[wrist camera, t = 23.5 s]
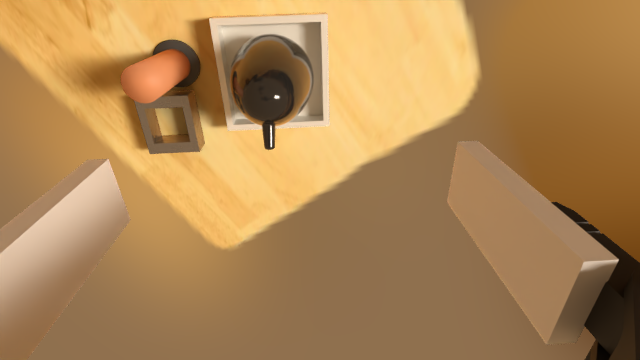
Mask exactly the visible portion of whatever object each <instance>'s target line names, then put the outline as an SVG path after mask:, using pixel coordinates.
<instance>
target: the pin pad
mask: <svg viewBox="0 0 640 360" xmlns="http://www.w3.org/2000/svg"><path fill="white" fill-rule="evenodd" d="M168 49H177V50H179V51H181V52H183V53H184V54H185V55H186V56H187V58H188V59H189V61H190V65H191V70H190V73H189V75H188V76H187V77H186V78H185V79H183V80H182V81H181V82H179V83H178V84H177V85H175V86H174V87H186V86H189V85H191V84H192V83H193V82H194V81H195V80H196V79H197V78H198V75H199V72H200V62H199V59H198V57H197V55H196V53H195V52H194V50H193V49H192V48H191V47H190V46H188V45H187V44H185V43H184V42H181V41H178V40H167V41H164V42H162V43H160V44H159V45H158V46H157V47H156V48H155V50H154V52H153V56H154V55H156V54H158V53H161V52H163V51H165V50H168Z"/></svg>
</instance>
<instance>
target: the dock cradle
mask: <svg viewBox="0 0 640 360" xmlns="http://www.w3.org/2000/svg"><path fill="white" fill-rule="evenodd" d="M209 22H210V28H211V34H212V40H213V46H214V52H215V57H216V63H217V69H218V75H219V81H220V87H221V93H222V99H223V105H224V110H225V116H226V122H227V128H228V131H234V130H256V129H262V126H261V125H257V124H255V123H253V122H251V121H249V120H248V119H247V118H245V117H244V116H243V115H242V114H241V112H240V111H239V110H238V108H237V106H236V105H235V103H234V100H233V98H232V95H231V91H230V84H229V75H230V68H231V64H232V61H233V58H234V56H235V54H236V53H237V51H238V50H239V49H240V47H241V46H242V45H243V44H244V43H246V42H247V41H248V40H250V39H252V38H254V37H256V36H259V35H263V34H277V35H282V36H285V37H287V38H289V39H291V40H293V41H294V42H296V43H297V44H298V45H299V46H300V47H301V48H302V49H303V50H304V51H305V53H306V54H307V56H308V57H309V59H310V62H311V64H312V68H313V73H314V84H313V90H312V93H311V96H310V98H309V101H308V102H307V104H306V106H305V107H304V109H303V110H302V111H301V112H300V114H299V115H298V116H296V117H295V118H294V119H293V120H291V121H289V122H287V123H285V124H283V125H280V126H275V129H277V128H298V127H320V126H330V125H329V68H328V14H327V13H302V14H274V15H247V16H219V17H212V18H209Z"/></svg>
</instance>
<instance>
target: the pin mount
mask: <svg viewBox="0 0 640 360" xmlns="http://www.w3.org/2000/svg"><path fill="white" fill-rule="evenodd" d="M134 102H135V105H136V109H137V112H138V116H139V119H140V122H141V126H142V129H143V132H144V136H145V139H146V143H147V146H148V149H149V153H150V154H159V153H179V152H200V150H201V149H202V147H203V146H204V144H205V141H204V136H203V132H202V127H201V122H200V117H199V112H198V108H197V103H196V98H195V93H194V90H176V91H167V92H166V93H165V94H163V95H162V96H161V97H159V98H158V99H156V100H155V101H153V102H151V103H139V102H137V101H135V100H134ZM173 107H183V112H184V116H185V120H186V125H187V129H188V133H189V135H169V136H162V135H161V131H160V127H159V124H158V120H157V116H156V113H155V109H154V108H173Z"/></svg>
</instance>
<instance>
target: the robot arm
mask: <svg viewBox="0 0 640 360" xmlns="http://www.w3.org/2000/svg"><path fill="white" fill-rule="evenodd" d="M447 203H448V205H449V206H450V208H451V209H452V210H453V212H454V213H455V215H456V216H457V218H458V219H459V220H460V222H461V223H462V225H463V226H464V228H465V229H466V230H467V232H468V233H469V235H470V236H471V238H472V239H473V240H474V242H475V243H476V245H477V246H478V248H479V249H480V250H481V252H482V253H483V255H484V256H485V258H486V259H487V260H488V262H489V263H490V265H491V266H492V268H493V269H494V270H495V272H496V273H497V275H498V276H499V278H500V279H501V280H502V282H503V283H504V285H505V286H506V287H507V289H508V291H509V292H510V293H511V295H512V296H513V298H514V299H515V301H516V302H517V303H518V305H519V306H520V308H521V309H522V310H523V312H524V313H525V315H526V316H527V317H528V319H529V320H530V322H531V323H532V325H533V326H534V328H535V329H536V331H537V332H538V333H539V335H540V336H541V338H542V339H543V341H544V342H545V343H546V345H552V344H567V343H576V342H577V340H578V338H579V336H580V335H581V333H582V331H583V329H584V327H586V328H587V329H588V330H589V331H590V333H591V334H592V335H593V336H594V337H595V339H596V340H595V342H594V344H593V346H592V347H591V349H590V351H589V353H588V355H587V356H586V358H585V360H640V263H639V262H638V261H637V260H635V259H634V258H633V257H631V256H630V255H629V254H628V253H627V252H625V251H624V250H623V249H621V248H620V247H619V246H618V245H617V244H615V243H614V242H613V241H612V240H610V239H609V238H608V237H607V236H605V235H604V234H600V231H599V230H598V229H597V228H595V227H594V226H593V225H591V224H588V221H587V220H585V219H584V218H583V217H581V216H580V215H579V214H578V213H576V212H575V211H574V210H571V209H569V208H567V207H565V206H563V205H561V204H559V203H557V202H550V201H549V200H547V199H546V198H545V197H543V195H541V194H540V193H539V192H538V191H537V190H536V189H534V188H533V187H532V186H530V184H528V183H527V182H526V181H525V180H523V179H522V178H521V177H520V176H519V175H518V174H516V173H515V172H514V171H513V170H512V169H510V168H509V167H508V166H507V165H506V164H505V163H503V162H502V161H501V160H499V158H497V157H496V156H495V155H494V154H493V153H491V152H490V151H489V150H488V149H487V148H485V147H484V146H483V145H482V144H481V143H479V142H478V141H465V142H458V143H457V149H456V155H455V160H454V166H453V172H452V177H451V183H450V189H449V194H448V200H447ZM129 221H130V217H129V214H128V211H127V209H126V206H125V203H124V201H123V198H122V195H121V192H120V189H119V187H118V184H117V181H116V178H115V176H114V173H113V170H112V168H111V165H110V162H109V159H97V160H87V161H85V162H84V163H83V164H82V165H80V166H79V167H78V168H77V169H75V170H74V171H73V172H72V173H70V174H69V175H68V176H66V177H65V178H64V179H63V180H61V181H60V182H59V183H58V184H56V185H55V186H54V187H53V188H52V189H50V190H49V191H48V192H46V193H45V194H44V195H43V196H41V197H40V198H39V199H38V200H36V201H35V202H34V203H33V204H31V205H30V206H29V207H27V208H26V209H25V210H24V211H22V212H21V213H20V214H19V215H17V216H16V217H15V218H14V219H12V220H11V221H10V222H9V223H7V224H6V225H5V226H4V227H2V228H1V229H0V360H27V359H28V358H29V357H30V355H31V354H32V352H33V351H34V350H35V348H36V347H37V346H38V344H39V343H40V342H41V340H42V339H43V338H44V336H45V335H46V334H47V332H48V331H49V330H50V328H51V327H52V325H53V324H54V323H55V321H56V320H57V318H58V317H59V316H60V315H61V313H62V312H63V311H64V309H65V308H66V306H67V305H68V304H69V302H70V301H71V300H72V298H73V297H74V296H75V294H76V293H77V292H78V290H79V289H80V288H81V286H82V285H83V284H84V282H85V281H86V279H87V278H88V277H89V275H90V274H91V273H92V271H93V270H94V269H95V267H96V266H97V265H98V263H99V262H100V260H101V259H102V258H103V256H104V255H105V253H106V252H107V251H108V250H109V248H110V247H111V246H112V244H113V243H114V242H115V240H116V239H117V237H118V236H119V235H120V233H121V232H122V231H123V229H124V228H125V227H126V225H127V224H128V223H129Z"/></svg>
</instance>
